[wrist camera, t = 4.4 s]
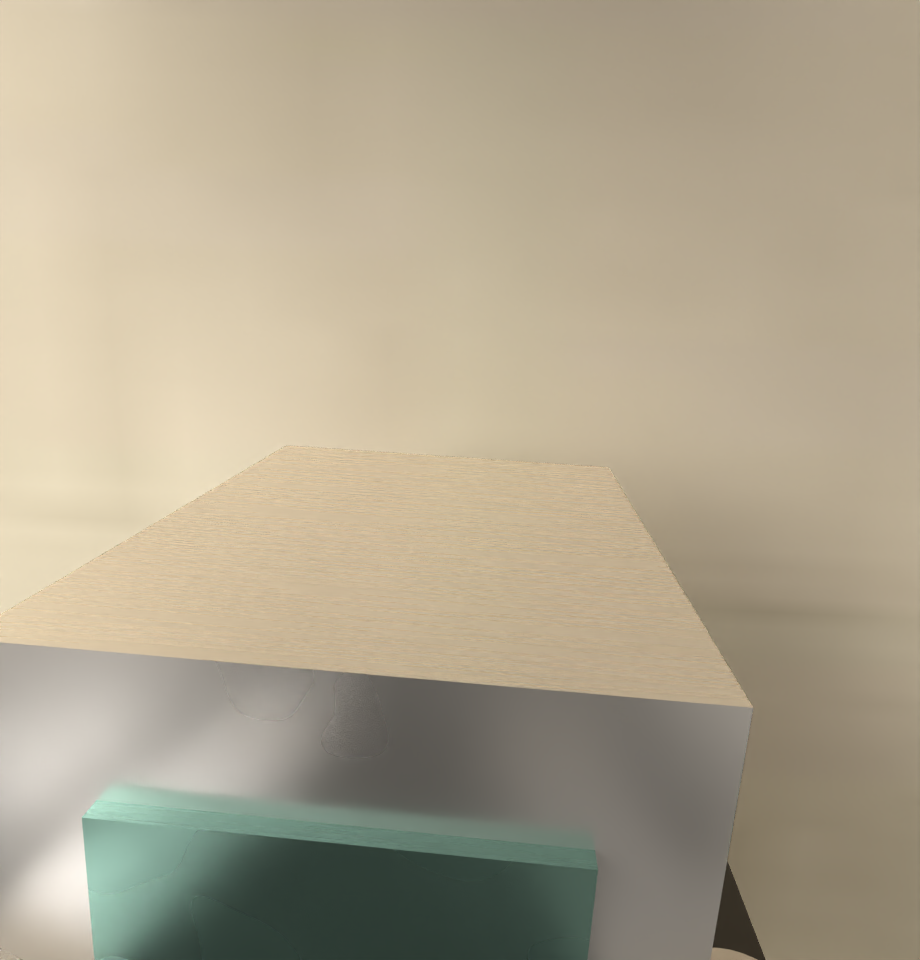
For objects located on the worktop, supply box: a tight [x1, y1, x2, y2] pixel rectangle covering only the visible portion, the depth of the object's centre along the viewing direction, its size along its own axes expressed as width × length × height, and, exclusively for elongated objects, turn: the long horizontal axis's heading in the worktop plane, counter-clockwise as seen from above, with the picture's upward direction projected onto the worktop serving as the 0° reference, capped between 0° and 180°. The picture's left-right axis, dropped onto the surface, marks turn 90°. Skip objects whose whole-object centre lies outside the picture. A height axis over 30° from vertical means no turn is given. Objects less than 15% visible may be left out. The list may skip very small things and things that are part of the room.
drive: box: [0, 446, 753, 960], centre depth 8 cm, size 9×4×6 cm, turn 177°
